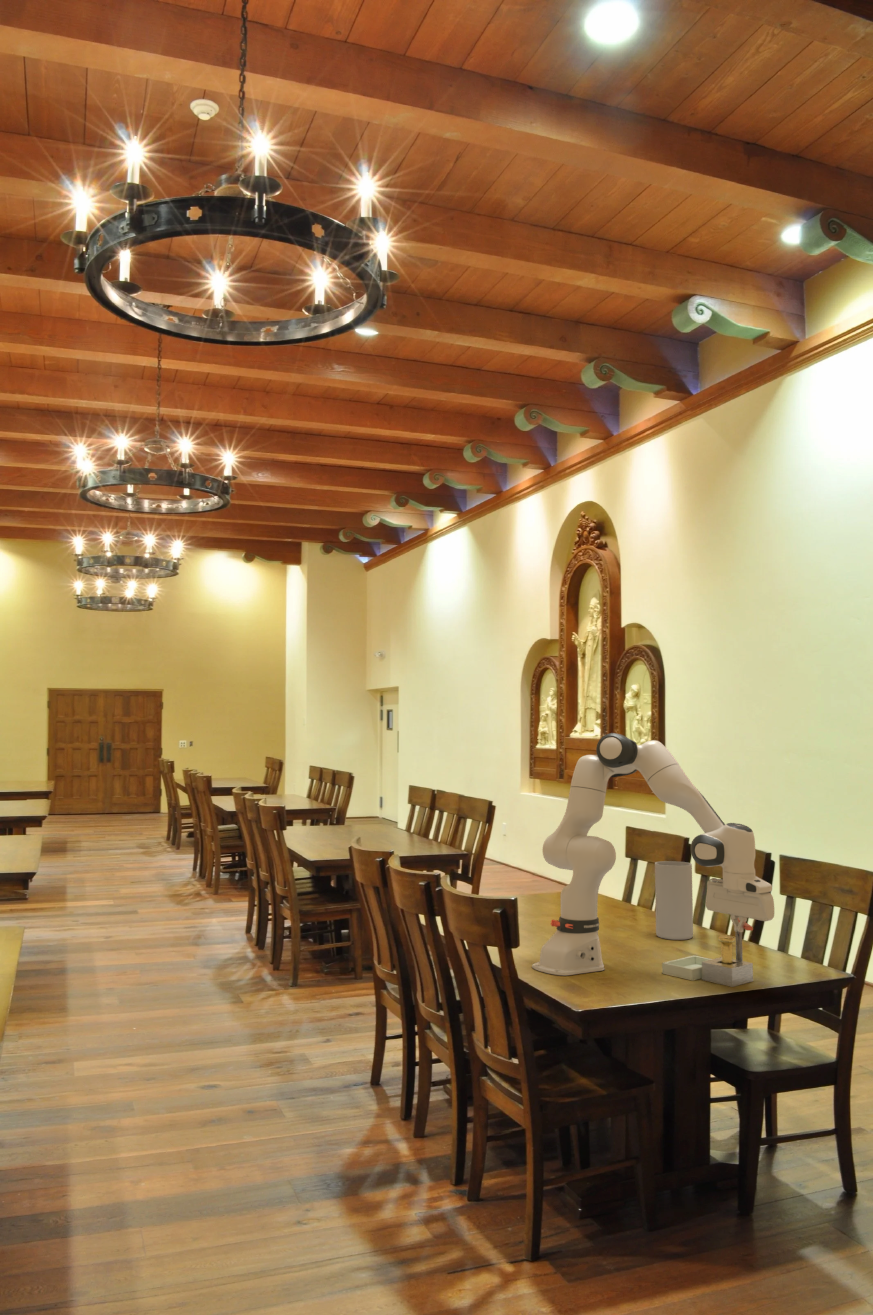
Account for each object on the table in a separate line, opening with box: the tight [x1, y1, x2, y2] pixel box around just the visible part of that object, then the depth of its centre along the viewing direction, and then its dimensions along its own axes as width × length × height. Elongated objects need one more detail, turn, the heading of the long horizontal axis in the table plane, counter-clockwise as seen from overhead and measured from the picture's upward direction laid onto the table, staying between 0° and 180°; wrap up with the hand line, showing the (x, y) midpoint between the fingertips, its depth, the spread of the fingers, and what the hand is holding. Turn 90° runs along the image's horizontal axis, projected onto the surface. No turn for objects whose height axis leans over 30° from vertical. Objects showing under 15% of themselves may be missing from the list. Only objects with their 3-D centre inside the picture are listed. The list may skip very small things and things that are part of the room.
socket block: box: [701, 931, 754, 988], centre depth 276 cm, size 12×10×15 cm
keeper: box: [737, 918, 754, 932], centre depth 276 cm, size 12×3×1 cm, turn 179°
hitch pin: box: [718, 935, 736, 965], centre depth 276 cm, size 4×4×12 cm
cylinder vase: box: [654, 860, 694, 941], centre depth 336 cm, size 12×12×25 cm
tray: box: [661, 955, 712, 981], centre depth 284 cm, size 16×11×3 cm
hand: (738, 932), depth 272 cm, fingers closed
